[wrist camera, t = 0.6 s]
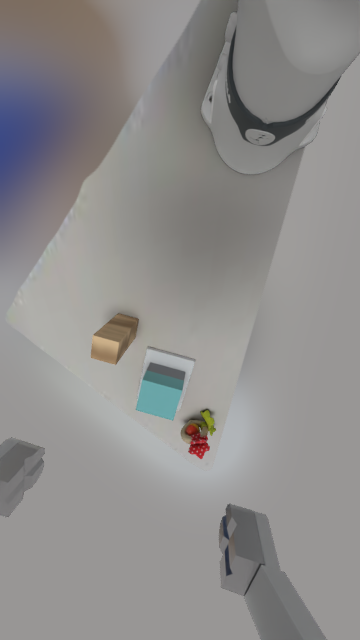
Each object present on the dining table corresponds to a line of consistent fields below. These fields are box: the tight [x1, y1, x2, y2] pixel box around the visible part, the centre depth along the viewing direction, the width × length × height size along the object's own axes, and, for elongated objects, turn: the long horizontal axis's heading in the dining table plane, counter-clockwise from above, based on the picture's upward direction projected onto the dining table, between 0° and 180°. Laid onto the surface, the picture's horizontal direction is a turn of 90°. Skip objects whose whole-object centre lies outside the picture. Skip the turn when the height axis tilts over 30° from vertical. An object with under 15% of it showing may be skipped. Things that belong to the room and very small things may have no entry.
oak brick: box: [91, 313, 139, 365], centre depth 45 cm, size 5×5×12 cm
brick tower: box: [136, 347, 195, 420], centre depth 51 cm, size 16×12×8 cm
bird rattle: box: [181, 410, 216, 459], centre depth 54 cm, size 6×11×9 cm
